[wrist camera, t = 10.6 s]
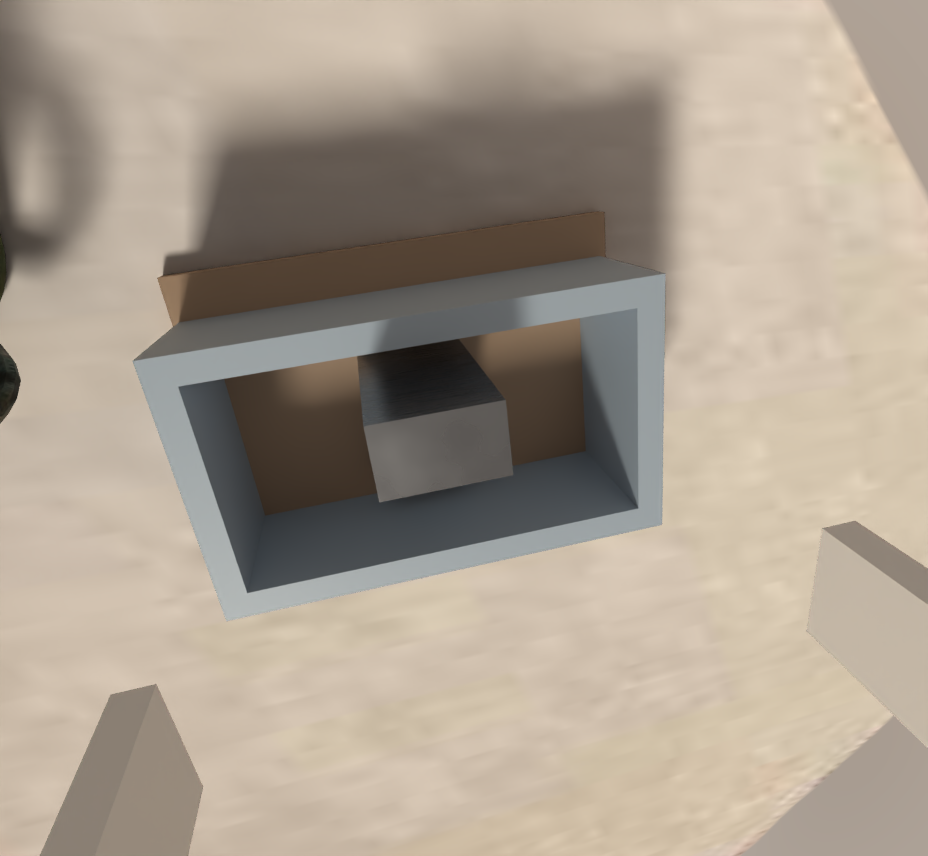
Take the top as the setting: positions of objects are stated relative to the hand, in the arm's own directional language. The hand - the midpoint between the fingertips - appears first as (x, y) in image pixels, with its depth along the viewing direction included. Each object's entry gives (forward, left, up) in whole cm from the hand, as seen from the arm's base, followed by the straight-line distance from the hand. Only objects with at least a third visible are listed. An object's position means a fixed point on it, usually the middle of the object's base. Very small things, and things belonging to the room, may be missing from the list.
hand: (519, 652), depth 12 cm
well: (+2, 0, -21) cm, 21 cm away
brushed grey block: (+2, 0, -20) cm, 20 cm away
